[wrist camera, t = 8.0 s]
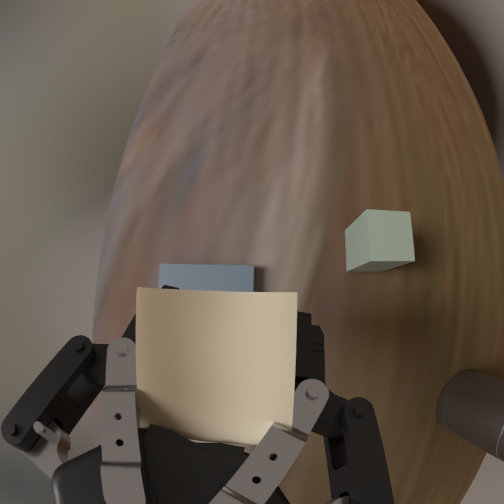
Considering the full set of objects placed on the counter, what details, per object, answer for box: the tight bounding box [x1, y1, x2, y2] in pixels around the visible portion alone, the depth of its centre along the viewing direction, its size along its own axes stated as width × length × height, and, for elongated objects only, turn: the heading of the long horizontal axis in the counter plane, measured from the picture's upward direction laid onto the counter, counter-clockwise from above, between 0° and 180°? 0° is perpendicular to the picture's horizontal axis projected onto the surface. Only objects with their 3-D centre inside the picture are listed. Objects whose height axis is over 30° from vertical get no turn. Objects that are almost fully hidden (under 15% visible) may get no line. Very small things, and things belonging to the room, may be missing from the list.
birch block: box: [136, 287, 297, 444], centre depth 13 cm, size 5×5×10 cm
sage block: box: [345, 209, 415, 272], centre depth 28 cm, size 5×5×8 cm
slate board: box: [158, 264, 254, 292], centre depth 31 cm, size 11×13×2 cm
